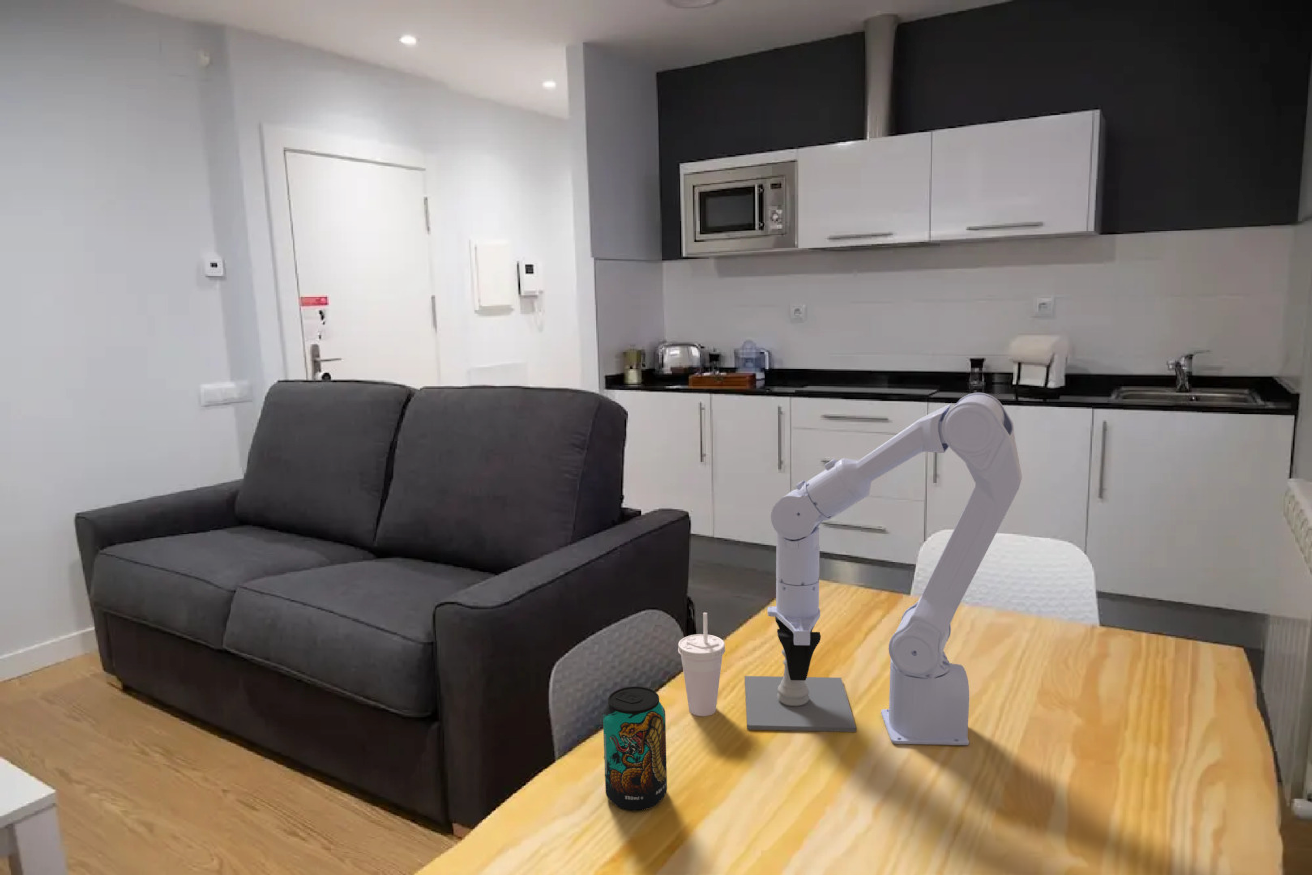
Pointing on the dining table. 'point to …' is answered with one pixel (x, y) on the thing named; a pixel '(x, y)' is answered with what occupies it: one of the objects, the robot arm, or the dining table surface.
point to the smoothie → (702, 670)
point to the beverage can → (635, 749)
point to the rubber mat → (817, 714)
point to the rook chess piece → (792, 689)
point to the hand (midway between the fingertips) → (796, 672)
